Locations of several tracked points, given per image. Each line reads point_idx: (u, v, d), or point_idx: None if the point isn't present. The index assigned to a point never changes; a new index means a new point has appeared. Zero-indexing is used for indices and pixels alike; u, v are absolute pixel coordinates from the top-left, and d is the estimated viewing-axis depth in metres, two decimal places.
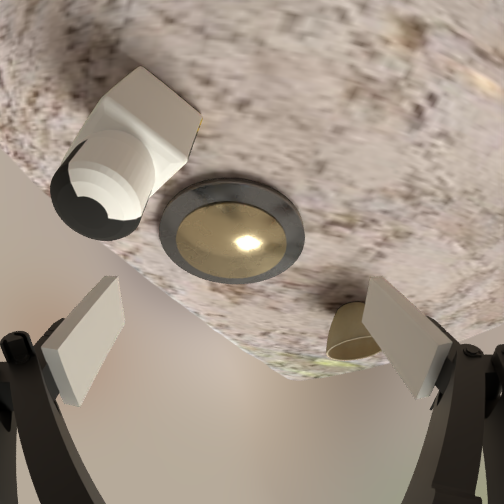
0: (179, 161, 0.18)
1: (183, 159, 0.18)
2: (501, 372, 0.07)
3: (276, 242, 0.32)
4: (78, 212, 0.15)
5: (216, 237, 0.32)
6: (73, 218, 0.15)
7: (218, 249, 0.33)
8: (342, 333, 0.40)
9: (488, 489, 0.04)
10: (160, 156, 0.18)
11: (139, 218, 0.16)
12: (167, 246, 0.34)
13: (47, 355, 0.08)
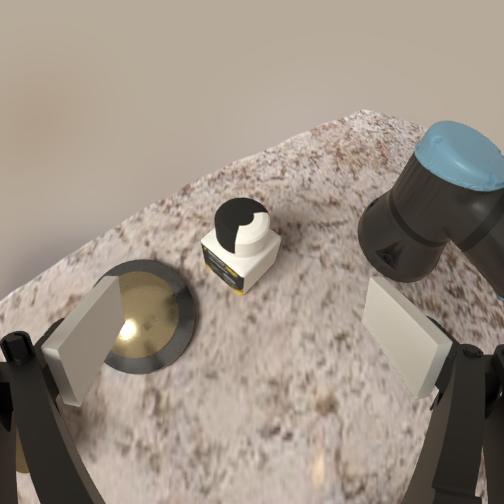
0: (243, 272, 0.34)
1: (244, 274, 0.34)
2: (501, 372, 0.07)
3: (140, 349, 0.35)
4: (242, 210, 0.32)
5: (144, 302, 0.38)
6: (238, 206, 0.33)
7: (130, 303, 0.38)
8: None
9: (488, 489, 0.04)
10: (247, 262, 0.35)
11: (234, 242, 0.31)
12: (132, 264, 0.41)
13: (47, 355, 0.08)
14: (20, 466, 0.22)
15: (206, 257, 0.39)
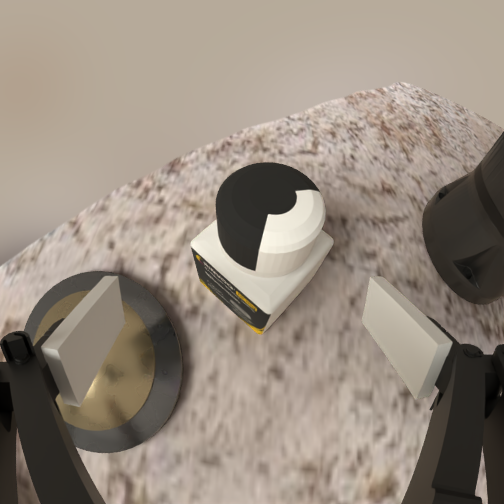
0: (270, 305, 0.18)
1: (272, 309, 0.18)
2: (501, 372, 0.07)
3: (96, 418, 0.18)
4: (273, 184, 0.16)
5: None
6: (264, 177, 0.16)
7: None
8: None
9: (488, 489, 0.04)
10: (277, 285, 0.18)
11: (256, 248, 0.15)
12: (86, 278, 0.24)
13: (47, 355, 0.08)
14: None
15: (201, 271, 0.23)
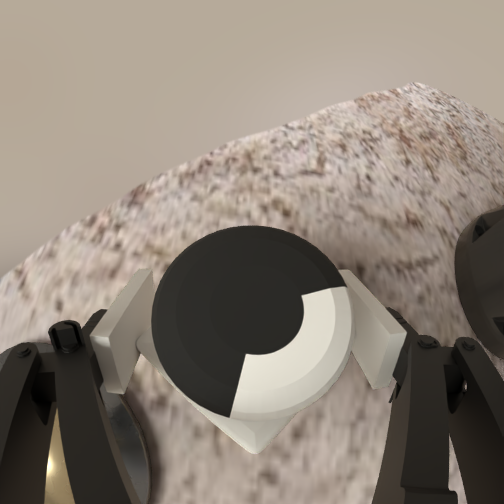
0: (257, 444, 0.10)
1: (259, 450, 0.10)
2: (464, 366, 0.08)
3: None
4: (258, 283, 0.08)
5: None
6: (239, 267, 0.08)
7: None
8: None
9: (465, 485, 0.05)
10: None
11: (224, 414, 0.07)
12: None
13: (96, 343, 0.09)
14: None
15: None
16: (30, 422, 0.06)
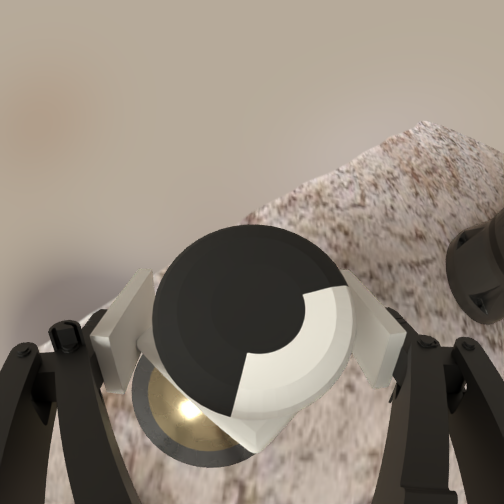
0: (257, 444, 0.10)
1: (260, 449, 0.10)
2: (464, 366, 0.08)
3: (218, 440, 0.25)
4: (259, 282, 0.08)
5: None
6: (241, 266, 0.08)
7: None
8: None
9: (465, 485, 0.05)
10: None
11: (225, 413, 0.07)
12: None
13: (96, 343, 0.09)
14: None
15: None
16: (30, 422, 0.06)
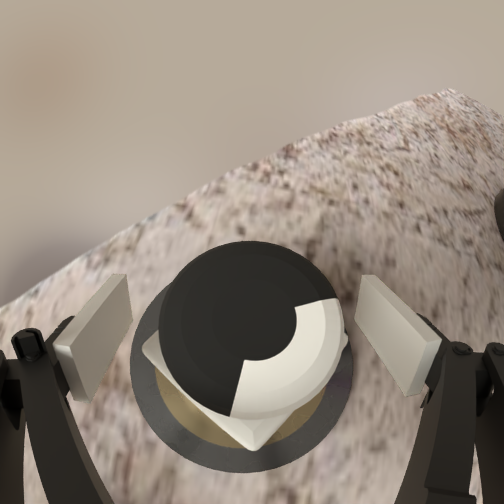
0: (255, 442, 0.11)
1: (257, 447, 0.11)
2: (492, 370, 0.07)
3: None
4: (255, 296, 0.09)
5: None
6: (239, 281, 0.09)
7: None
8: None
9: (483, 488, 0.05)
10: None
11: (225, 413, 0.08)
12: None
13: (58, 352, 0.08)
14: None
15: None
16: (2, 427, 0.05)
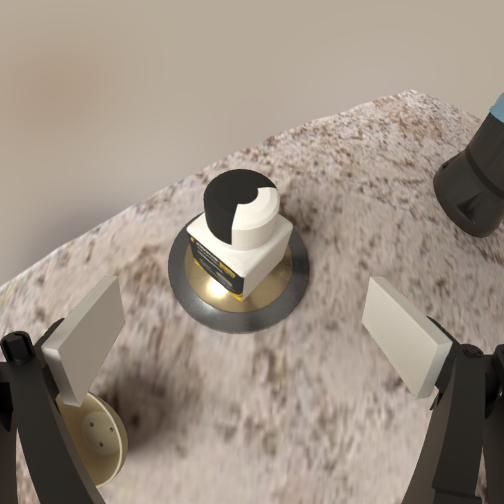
0: (243, 270, 0.25)
1: (245, 273, 0.25)
2: (501, 372, 0.07)
3: (250, 300, 0.31)
4: (242, 184, 0.23)
5: None
6: (236, 180, 0.23)
7: None
8: (107, 405, 0.22)
9: (488, 489, 0.04)
10: (248, 256, 0.26)
11: (230, 227, 0.22)
12: None
13: (47, 355, 0.08)
14: None
15: (194, 251, 0.30)
16: None
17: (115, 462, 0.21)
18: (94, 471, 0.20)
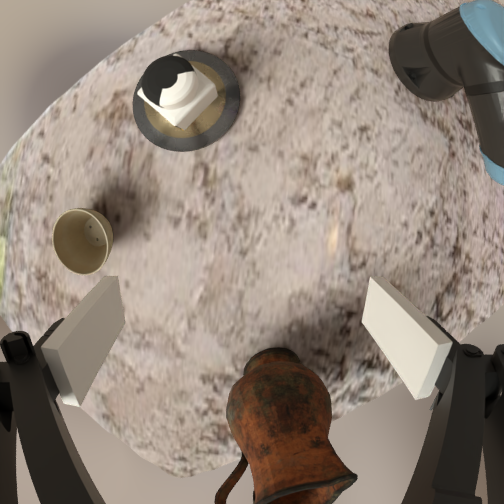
0: (175, 121, 0.33)
1: (176, 123, 0.33)
2: (501, 372, 0.07)
3: (191, 129, 0.40)
4: (167, 72, 0.27)
5: None
6: (162, 68, 0.27)
7: None
8: (97, 215, 0.38)
9: (488, 489, 0.04)
10: (178, 112, 0.32)
11: (158, 104, 0.28)
12: None
13: (47, 355, 0.08)
14: (84, 267, 0.41)
15: None
16: None
17: (106, 251, 0.43)
18: (93, 261, 0.43)
